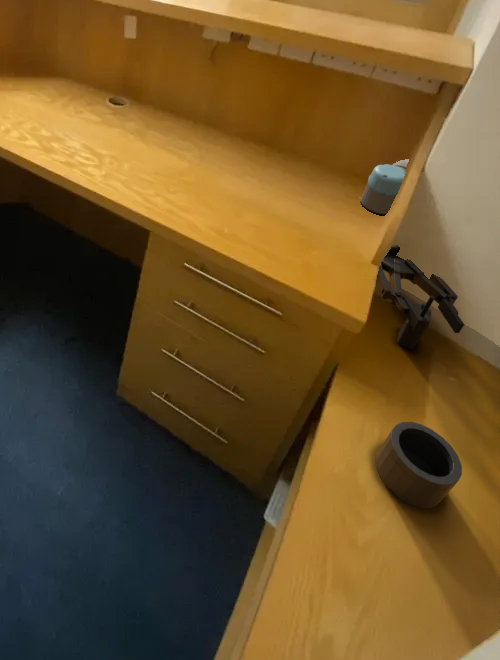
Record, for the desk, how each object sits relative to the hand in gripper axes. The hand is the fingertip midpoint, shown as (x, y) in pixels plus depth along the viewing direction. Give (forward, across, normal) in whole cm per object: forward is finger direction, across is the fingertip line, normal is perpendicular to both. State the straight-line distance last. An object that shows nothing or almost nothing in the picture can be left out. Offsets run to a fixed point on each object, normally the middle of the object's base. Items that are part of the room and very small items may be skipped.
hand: (438, 326), depth 102 cm
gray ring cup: (+24, +13, -11) cm, 30 cm away
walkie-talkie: (-5, 0, -11) cm, 12 cm away
